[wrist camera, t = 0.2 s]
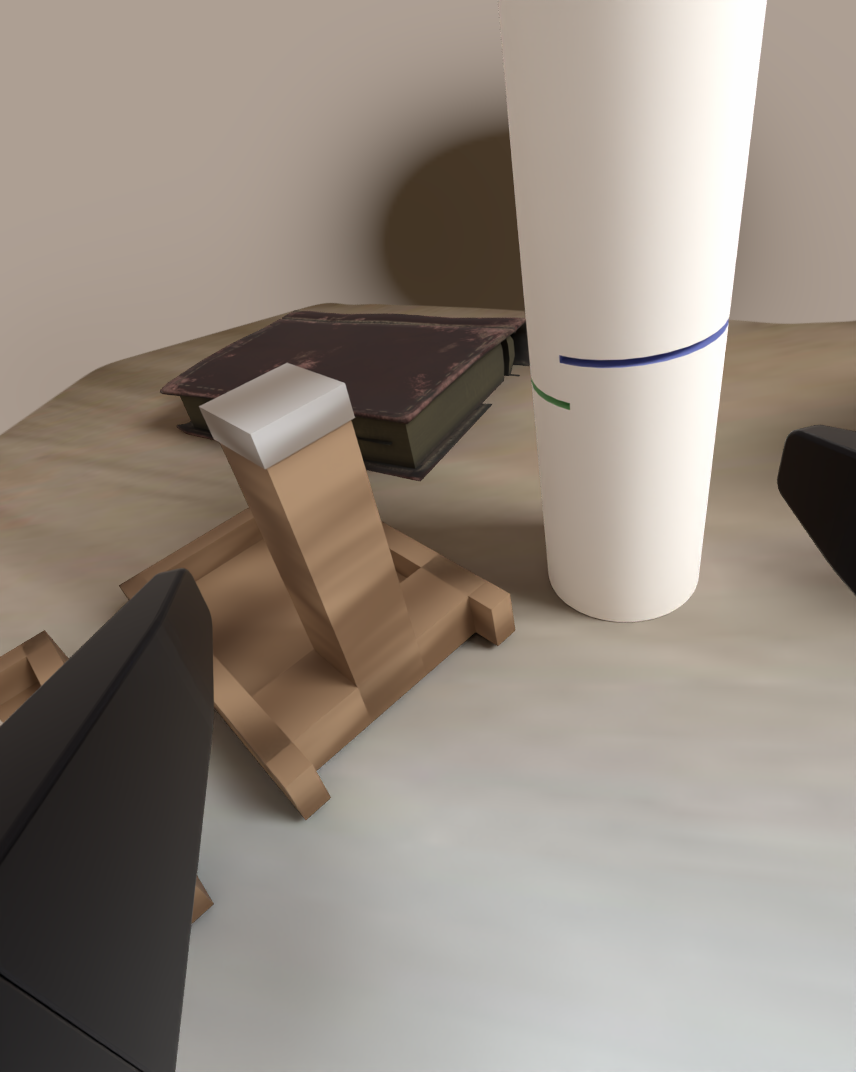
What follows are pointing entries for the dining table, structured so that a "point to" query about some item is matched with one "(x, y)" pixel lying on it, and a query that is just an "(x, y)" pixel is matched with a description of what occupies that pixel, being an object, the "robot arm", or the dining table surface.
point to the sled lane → (25, 671)
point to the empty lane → (316, 584)
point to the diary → (376, 376)
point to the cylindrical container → (628, 274)
